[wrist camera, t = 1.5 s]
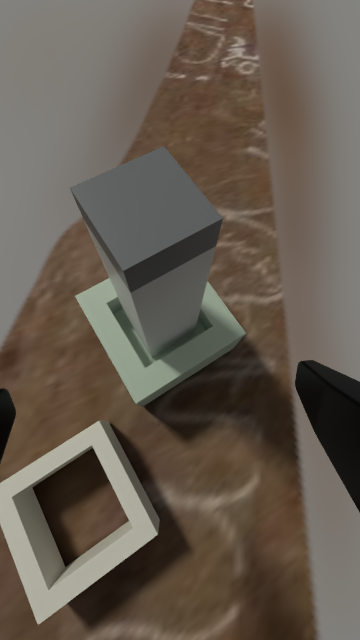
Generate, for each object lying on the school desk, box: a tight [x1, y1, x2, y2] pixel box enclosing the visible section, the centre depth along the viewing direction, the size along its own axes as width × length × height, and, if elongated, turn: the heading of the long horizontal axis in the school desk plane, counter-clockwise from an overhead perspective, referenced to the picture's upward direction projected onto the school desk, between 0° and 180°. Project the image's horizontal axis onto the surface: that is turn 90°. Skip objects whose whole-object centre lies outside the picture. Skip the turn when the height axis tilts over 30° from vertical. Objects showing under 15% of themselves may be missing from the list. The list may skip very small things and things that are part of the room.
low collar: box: [0, 421, 160, 625], centre depth 17 cm, size 7×7×2 cm
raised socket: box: [75, 278, 246, 407], centre depth 20 cm, size 8×8×4 cm
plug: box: [70, 146, 223, 358], centre depth 15 cm, size 4×4×12 cm
